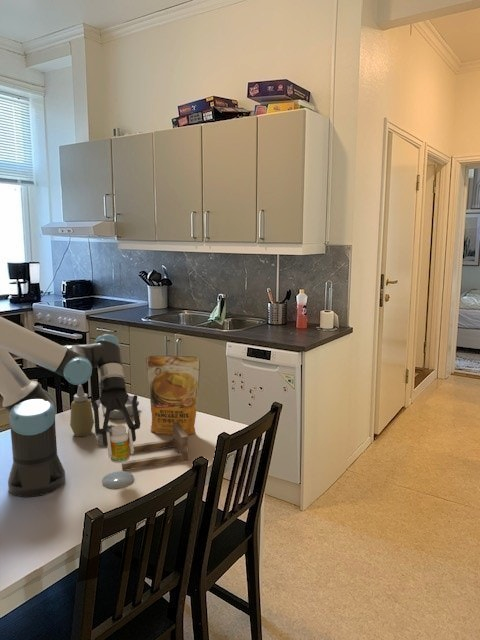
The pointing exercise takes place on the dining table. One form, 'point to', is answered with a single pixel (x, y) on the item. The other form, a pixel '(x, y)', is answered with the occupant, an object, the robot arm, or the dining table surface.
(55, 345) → the robot arm
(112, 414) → the dish
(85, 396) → the squeeze bottle
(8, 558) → the dining table surface
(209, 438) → the dining table surface
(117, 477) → the coaster
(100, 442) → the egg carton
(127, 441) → the supplement bottle
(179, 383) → the pancake mix bag
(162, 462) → the lane rack
